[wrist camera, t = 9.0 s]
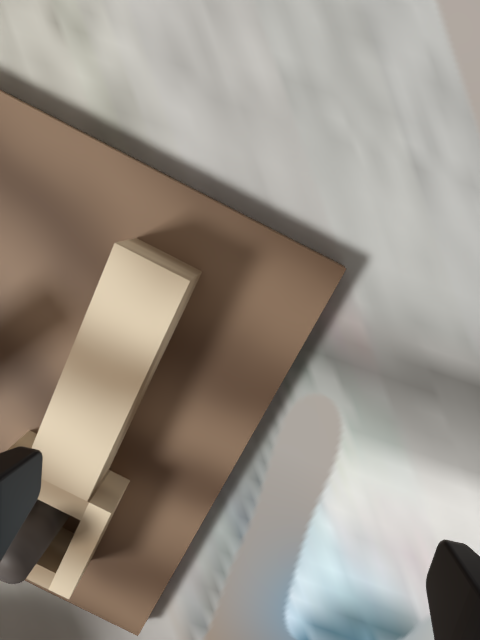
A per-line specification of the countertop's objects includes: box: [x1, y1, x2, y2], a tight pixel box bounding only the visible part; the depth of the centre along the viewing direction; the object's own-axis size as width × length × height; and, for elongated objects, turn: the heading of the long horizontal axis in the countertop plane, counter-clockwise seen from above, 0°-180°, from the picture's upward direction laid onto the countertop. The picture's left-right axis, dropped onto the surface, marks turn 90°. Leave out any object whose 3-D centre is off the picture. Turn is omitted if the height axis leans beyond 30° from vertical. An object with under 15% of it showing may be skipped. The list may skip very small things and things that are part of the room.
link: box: [6, 238, 202, 599], centre depth 21 cm, size 17×6×2 cm, turn 154°
